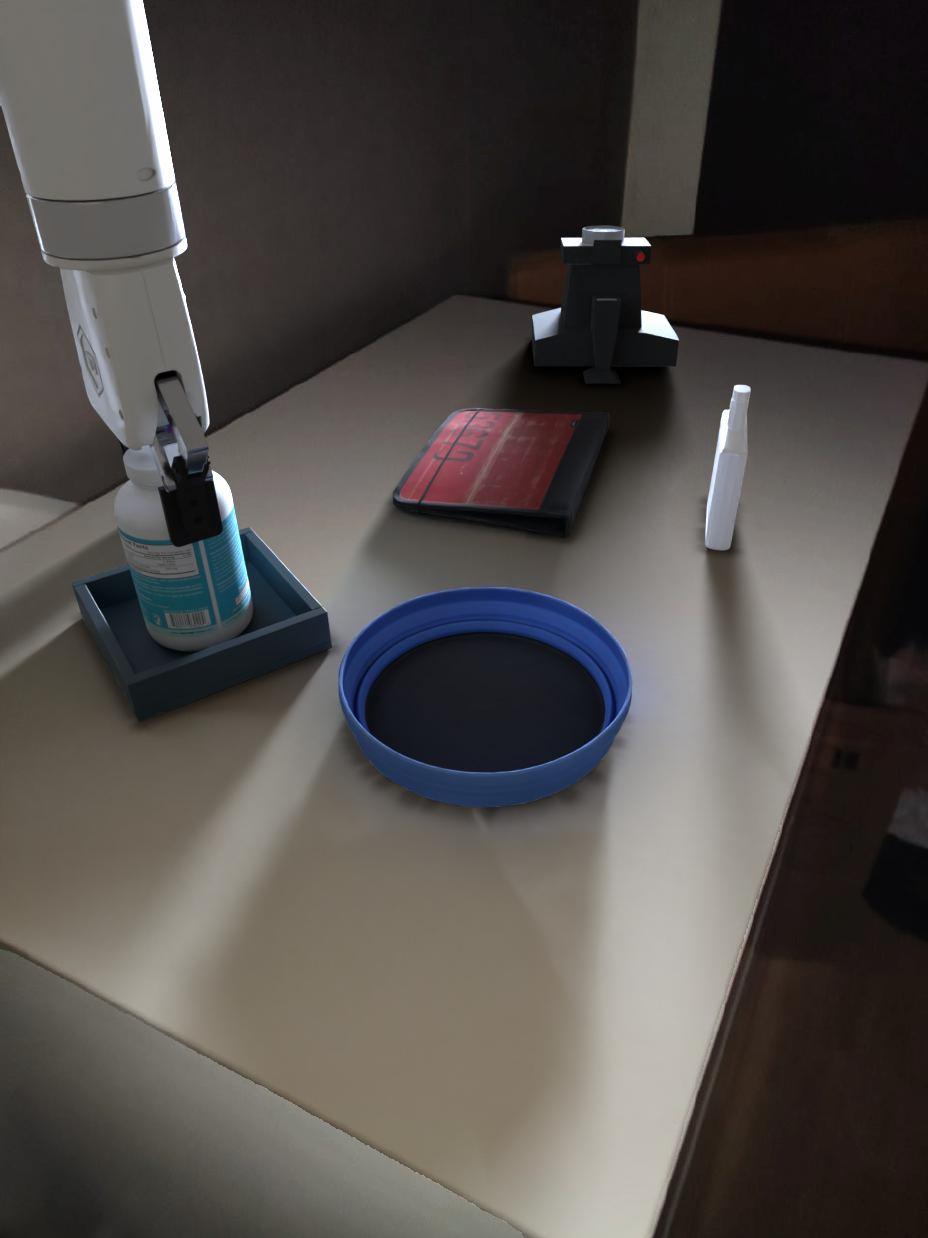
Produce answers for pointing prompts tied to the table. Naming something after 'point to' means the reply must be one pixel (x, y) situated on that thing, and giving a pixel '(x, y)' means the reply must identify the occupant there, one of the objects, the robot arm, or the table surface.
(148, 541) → the pill bottle
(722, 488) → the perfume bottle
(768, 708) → the table surface
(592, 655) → the bowl
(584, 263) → the camera
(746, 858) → the table surface
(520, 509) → the binder
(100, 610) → the tray
